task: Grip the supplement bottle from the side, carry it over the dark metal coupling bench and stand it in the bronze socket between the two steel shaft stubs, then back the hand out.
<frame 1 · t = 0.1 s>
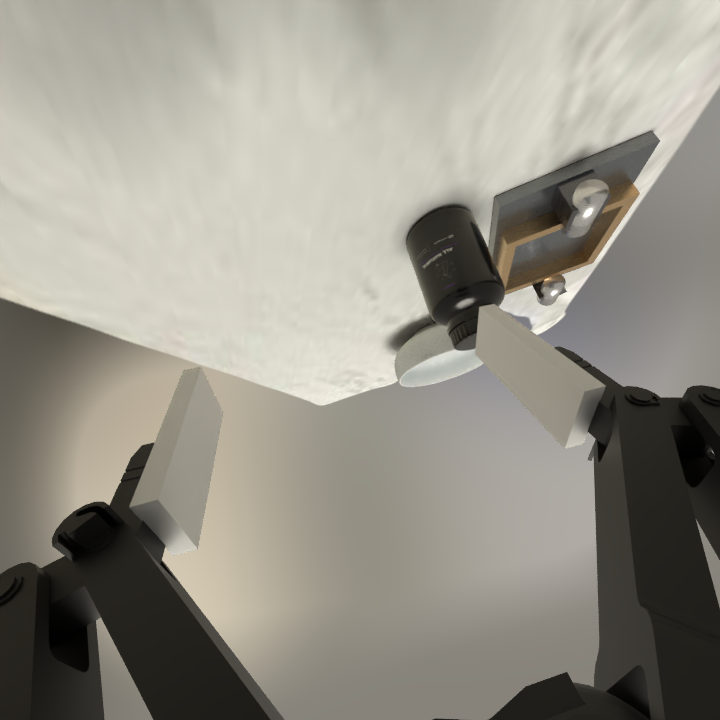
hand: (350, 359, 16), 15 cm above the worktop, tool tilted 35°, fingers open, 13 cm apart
supplement bottle: (437, 230, 33), on the worktop
cereal bowl: (432, 331, 58), on the worktop
coupling bench: (544, 235, 38), on the worktop
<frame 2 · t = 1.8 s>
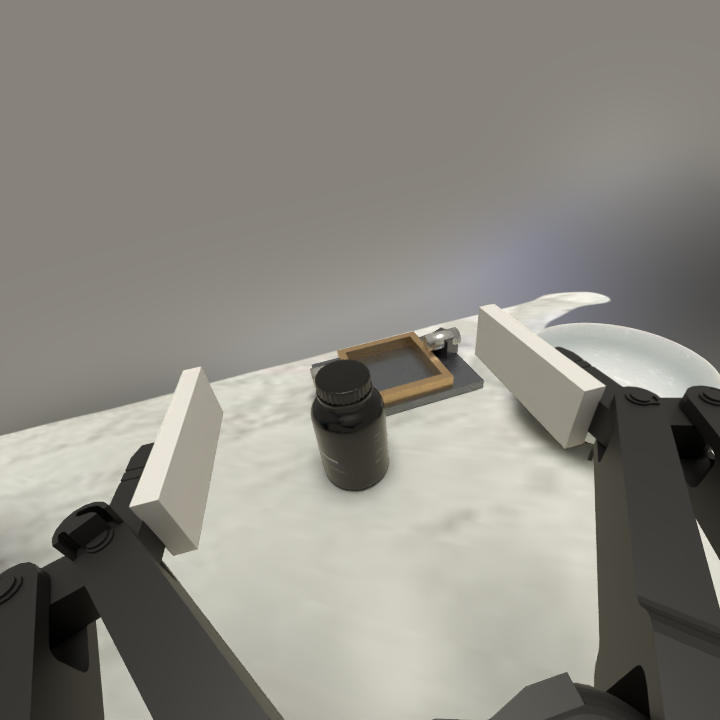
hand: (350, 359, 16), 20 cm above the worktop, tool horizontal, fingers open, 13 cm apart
supplement bottle: (357, 465, 35), on the worktop
cereal bowl: (589, 413, 37), on the worktop
coupling bench: (391, 378, 46), on the worktop
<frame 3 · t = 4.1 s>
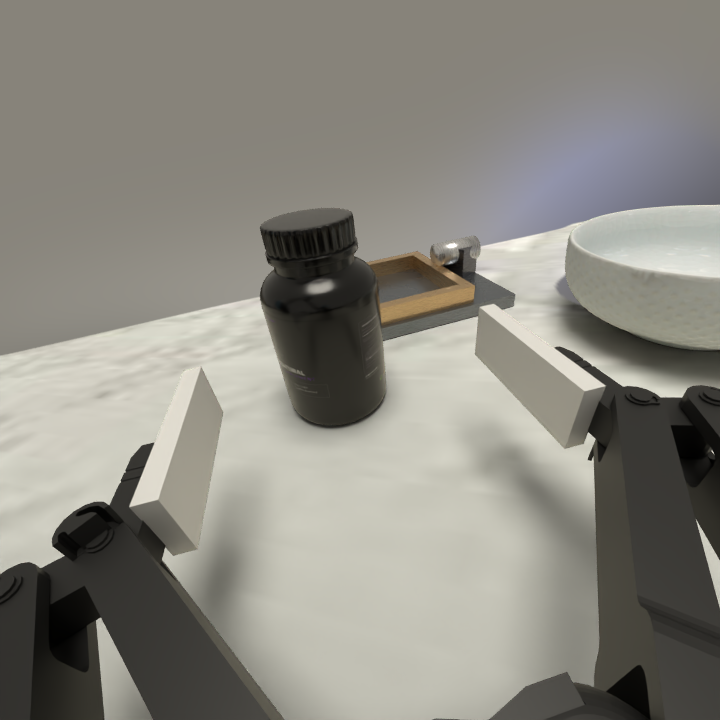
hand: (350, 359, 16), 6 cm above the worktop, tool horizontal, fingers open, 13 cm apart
supplement bottle: (340, 396, 24), on the worktop
cereal bowl: (671, 325, 26), on the worktop
coupling bench: (389, 304, 35), on the worktop
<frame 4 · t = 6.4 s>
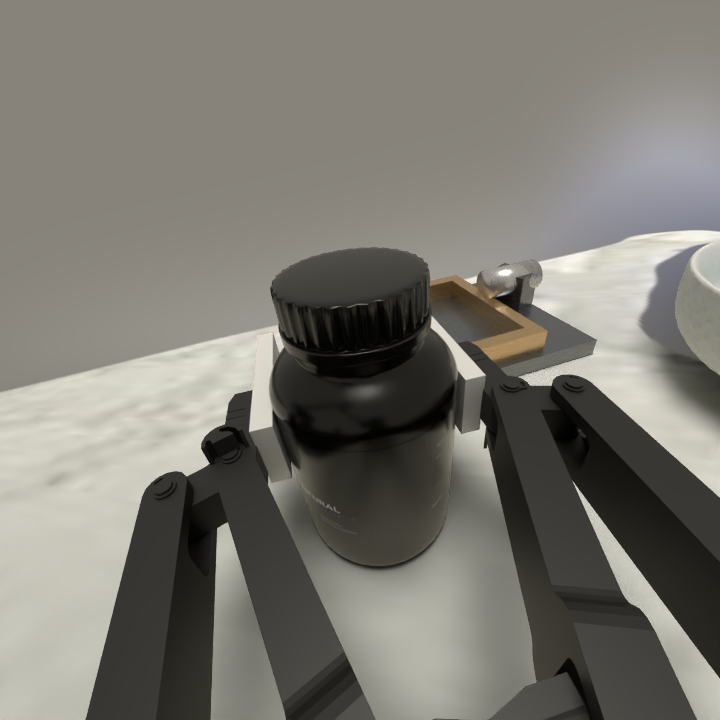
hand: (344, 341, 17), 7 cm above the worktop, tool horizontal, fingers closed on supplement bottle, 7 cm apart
supplement bottle: (380, 501, 17), on the worktop, touching gripper
coupling bench: (426, 344, 28), on the worktop
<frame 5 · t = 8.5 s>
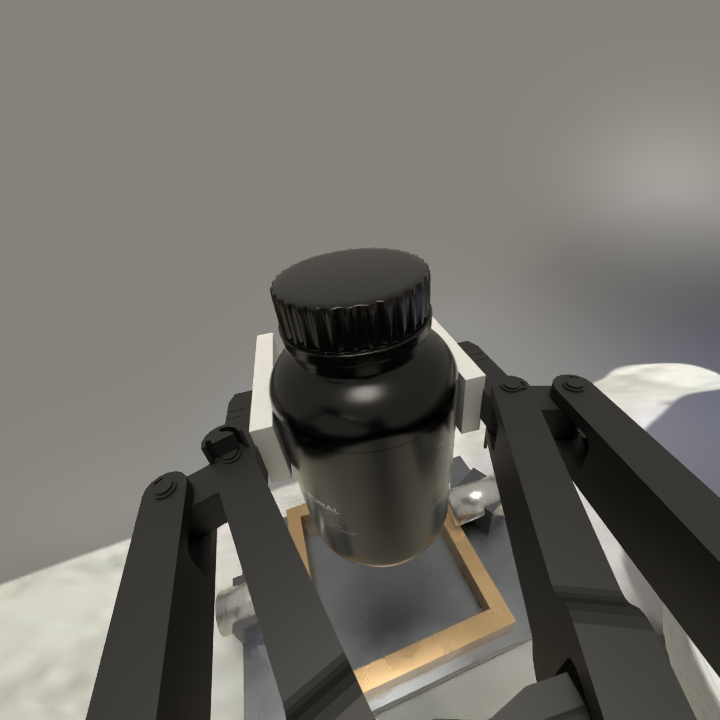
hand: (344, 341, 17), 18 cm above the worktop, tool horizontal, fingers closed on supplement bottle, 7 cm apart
supplement bottle: (380, 502, 17), point 11 cm above the worktop, touching gripper
coupling bench: (385, 574, 24), on the worktop
when the fingers open (9 cm above the worktop, at t = 10.7 s): supplement bottle drops 1 cm, resting on coupling bench.
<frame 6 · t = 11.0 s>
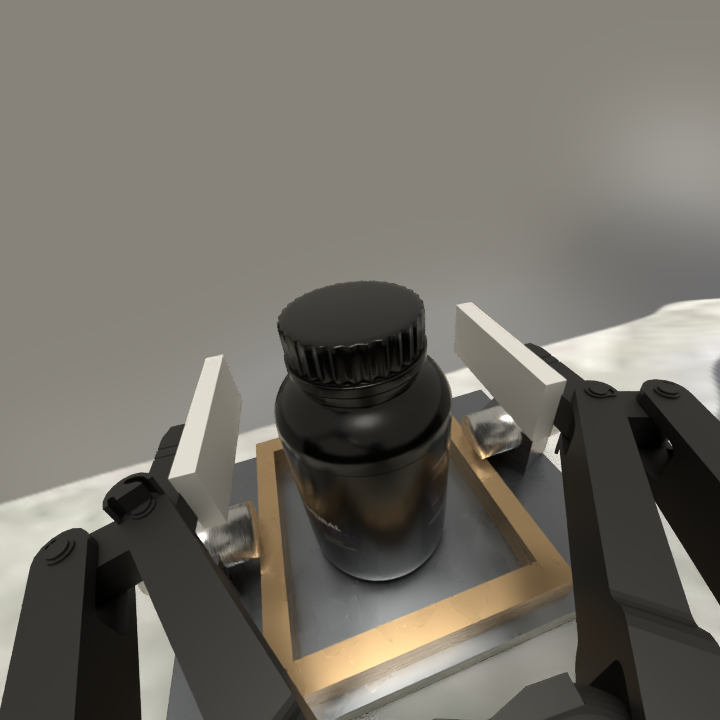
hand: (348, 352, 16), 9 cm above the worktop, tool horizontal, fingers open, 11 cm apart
supplement bottle: (379, 516, 18), point 1 cm above the worktop, touching coupling bench
coupling bench: (384, 525, 18), on the worktop
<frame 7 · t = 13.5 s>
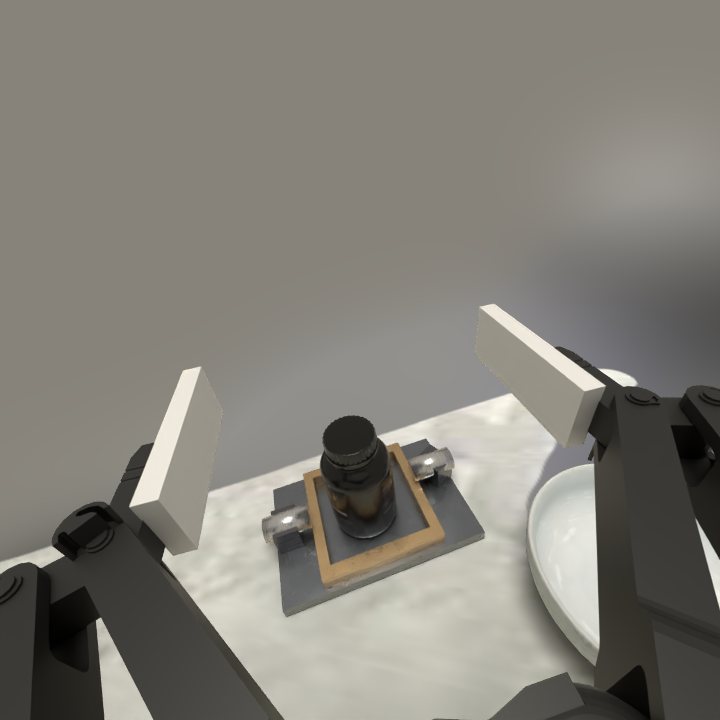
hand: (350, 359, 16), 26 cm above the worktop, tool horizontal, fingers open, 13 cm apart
supplement bottle: (366, 510, 36), point 1 cm above the worktop, touching coupling bench
cereal bowl: (628, 598, 28), on the worktop
coupling bench: (369, 514, 37), on the worktop
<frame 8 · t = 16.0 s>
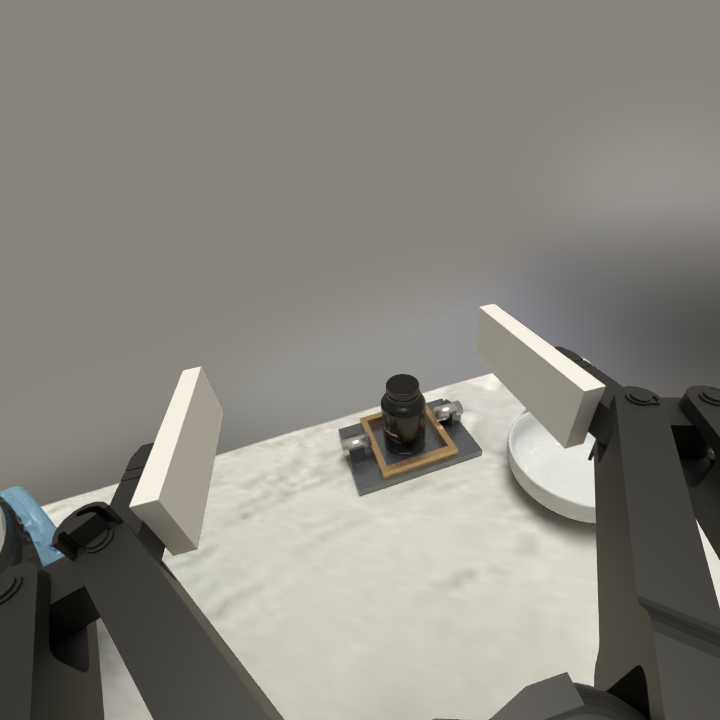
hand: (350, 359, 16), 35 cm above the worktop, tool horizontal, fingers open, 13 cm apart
supplement bottle: (404, 440, 55), point 1 cm above the worktop, touching coupling bench
cereal bowl: (566, 482, 47), on the worktop
coupling bench: (405, 444, 56), on the worktop
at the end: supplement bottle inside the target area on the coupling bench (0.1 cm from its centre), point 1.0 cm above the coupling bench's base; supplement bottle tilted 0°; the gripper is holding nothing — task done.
